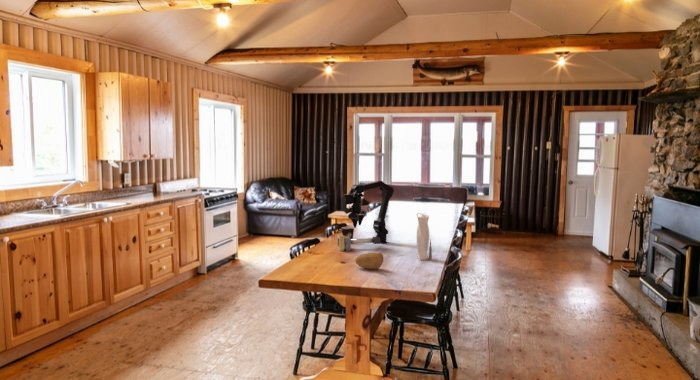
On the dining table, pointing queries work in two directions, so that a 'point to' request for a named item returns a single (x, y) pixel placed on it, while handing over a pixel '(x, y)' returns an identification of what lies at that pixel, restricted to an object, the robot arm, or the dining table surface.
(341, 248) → the spacer
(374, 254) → the potato
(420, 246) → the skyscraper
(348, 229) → the coffee mug
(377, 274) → the dining table surface
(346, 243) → the pillow block
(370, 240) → the shaft
